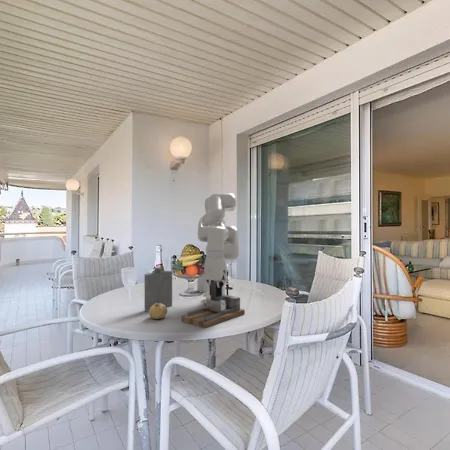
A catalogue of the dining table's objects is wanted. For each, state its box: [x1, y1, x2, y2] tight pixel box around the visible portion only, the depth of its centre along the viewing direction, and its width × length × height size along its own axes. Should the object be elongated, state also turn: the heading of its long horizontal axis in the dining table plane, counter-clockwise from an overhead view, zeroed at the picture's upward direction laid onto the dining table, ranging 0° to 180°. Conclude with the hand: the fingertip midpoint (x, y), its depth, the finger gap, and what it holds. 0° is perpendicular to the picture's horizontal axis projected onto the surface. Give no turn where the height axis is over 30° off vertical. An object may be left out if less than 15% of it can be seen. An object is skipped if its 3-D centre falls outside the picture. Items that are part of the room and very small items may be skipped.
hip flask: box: [144, 266, 173, 313], centre depth 157 cm, size 16×4×20 cm, turn 139°
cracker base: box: [181, 294, 246, 329], centre depth 142 cm, size 14×26×8 cm, turn 139°
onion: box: [148, 303, 168, 320], centre depth 141 cm, size 8×8×7 cm
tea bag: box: [196, 277, 207, 293], centre depth 196 cm, size 4×7×10 cm, turn 39°
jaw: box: [205, 281, 225, 312], centre depth 143 cm, size 9×3×13 cm, turn 49°
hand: (215, 295), depth 143 cm, fingers closed on jaw, 3 cm apart
